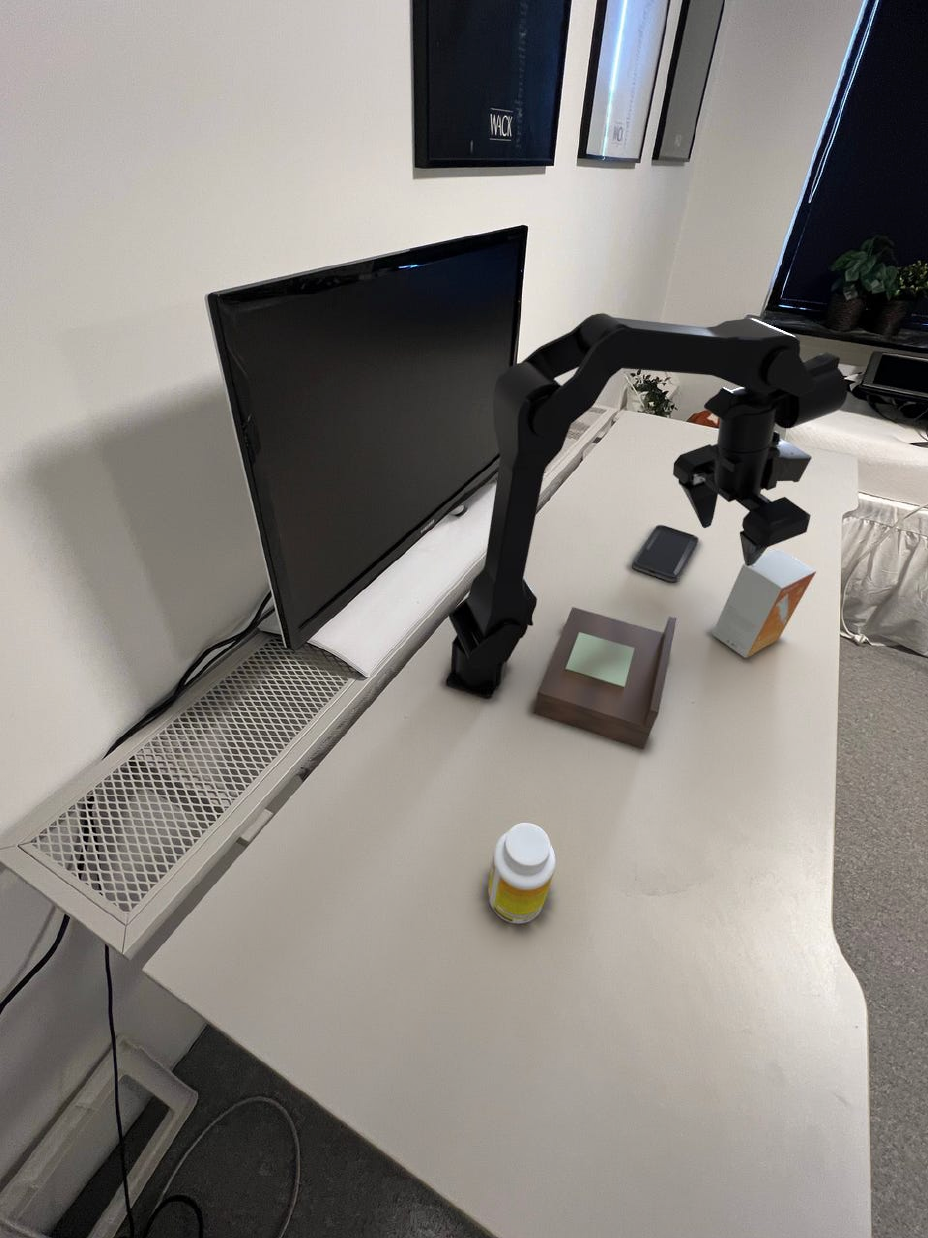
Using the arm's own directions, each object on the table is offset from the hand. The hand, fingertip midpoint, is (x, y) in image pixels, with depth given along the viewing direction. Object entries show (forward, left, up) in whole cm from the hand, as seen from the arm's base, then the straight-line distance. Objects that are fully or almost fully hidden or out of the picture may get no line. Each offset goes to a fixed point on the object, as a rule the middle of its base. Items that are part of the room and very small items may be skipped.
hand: (727, 544), depth 79 cm
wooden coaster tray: (-10, -16, -15) cm, 25 cm away
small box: (+8, +2, -16) cm, 17 cm away
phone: (-6, +19, -15) cm, 25 cm away
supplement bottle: (-12, -48, -16) cm, 52 cm away
